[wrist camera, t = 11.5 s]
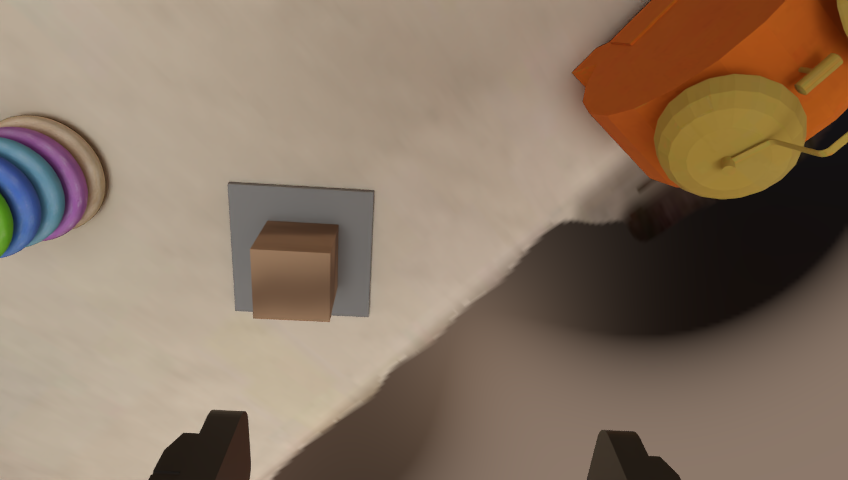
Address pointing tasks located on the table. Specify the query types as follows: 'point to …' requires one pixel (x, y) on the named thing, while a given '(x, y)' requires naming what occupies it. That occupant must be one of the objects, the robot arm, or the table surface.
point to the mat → (307, 206)
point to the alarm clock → (721, 89)
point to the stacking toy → (44, 182)
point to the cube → (294, 271)
